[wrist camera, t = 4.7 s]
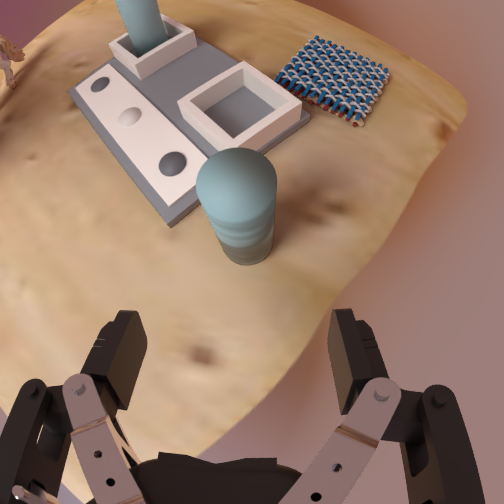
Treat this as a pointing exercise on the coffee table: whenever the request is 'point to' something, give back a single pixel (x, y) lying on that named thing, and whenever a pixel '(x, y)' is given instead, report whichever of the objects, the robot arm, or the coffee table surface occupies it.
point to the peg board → (178, 106)
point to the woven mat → (334, 79)
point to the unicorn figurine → (13, 54)
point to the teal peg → (240, 202)
